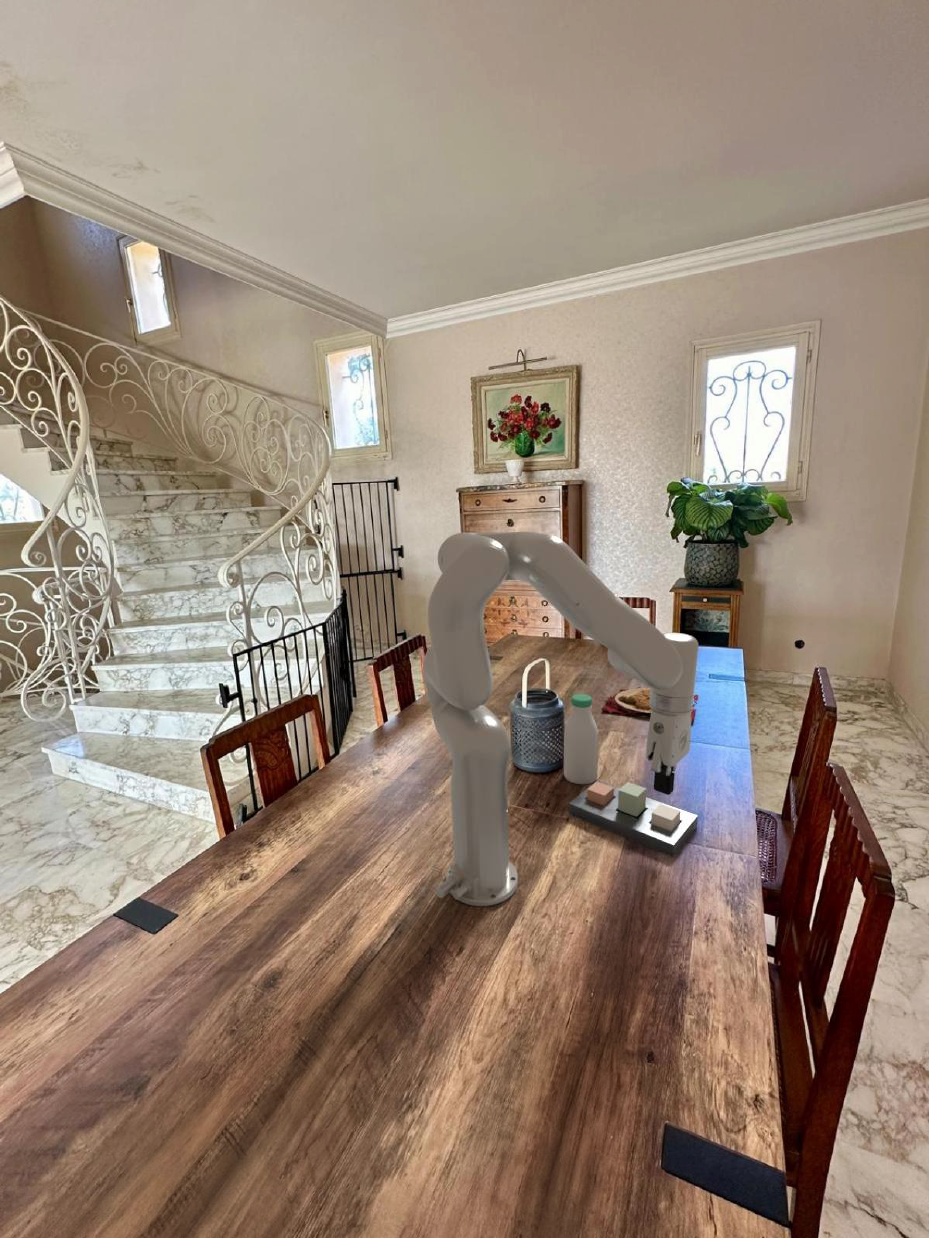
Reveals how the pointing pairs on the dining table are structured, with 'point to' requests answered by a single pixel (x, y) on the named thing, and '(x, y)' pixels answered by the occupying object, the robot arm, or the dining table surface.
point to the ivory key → (666, 818)
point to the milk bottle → (581, 742)
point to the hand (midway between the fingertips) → (663, 790)
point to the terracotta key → (600, 793)
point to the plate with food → (633, 702)
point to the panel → (634, 822)
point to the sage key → (632, 799)
